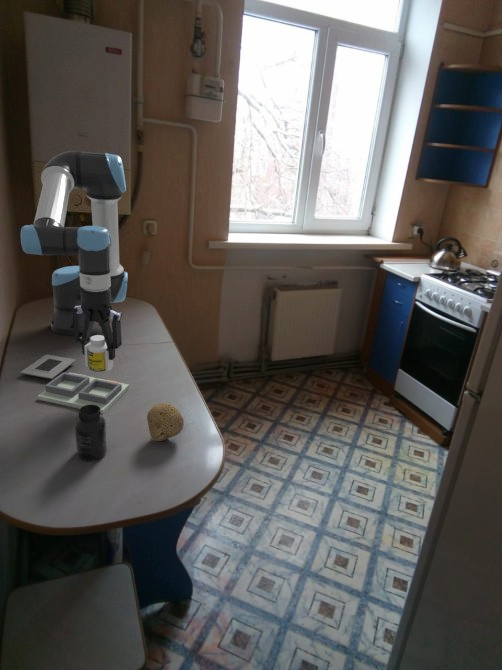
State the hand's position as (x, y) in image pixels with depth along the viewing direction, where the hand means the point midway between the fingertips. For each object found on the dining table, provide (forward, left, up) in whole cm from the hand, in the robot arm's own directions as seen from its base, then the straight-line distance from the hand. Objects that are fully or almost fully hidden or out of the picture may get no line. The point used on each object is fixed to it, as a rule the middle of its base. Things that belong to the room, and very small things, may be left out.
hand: (99, 367), depth 126 cm
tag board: (-1, -5, -10) cm, 11 cm away
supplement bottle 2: (+22, +11, -10) cm, 27 cm away
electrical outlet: (-9, -23, -11) cm, 27 cm away
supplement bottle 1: (0, 0, -1) cm, 1 cm away
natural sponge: (+11, +25, -10) cm, 29 cm away
